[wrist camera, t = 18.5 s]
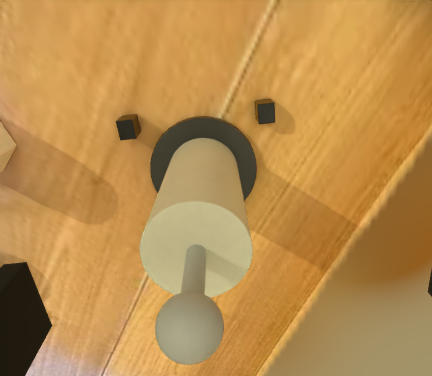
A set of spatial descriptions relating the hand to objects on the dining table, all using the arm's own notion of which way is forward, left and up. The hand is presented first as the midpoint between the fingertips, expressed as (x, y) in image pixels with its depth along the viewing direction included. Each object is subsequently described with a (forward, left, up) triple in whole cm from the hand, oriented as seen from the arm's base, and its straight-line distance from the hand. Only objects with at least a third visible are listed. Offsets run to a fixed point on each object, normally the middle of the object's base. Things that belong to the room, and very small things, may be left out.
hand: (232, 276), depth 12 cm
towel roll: (+4, -9, -36) cm, 37 cm away
